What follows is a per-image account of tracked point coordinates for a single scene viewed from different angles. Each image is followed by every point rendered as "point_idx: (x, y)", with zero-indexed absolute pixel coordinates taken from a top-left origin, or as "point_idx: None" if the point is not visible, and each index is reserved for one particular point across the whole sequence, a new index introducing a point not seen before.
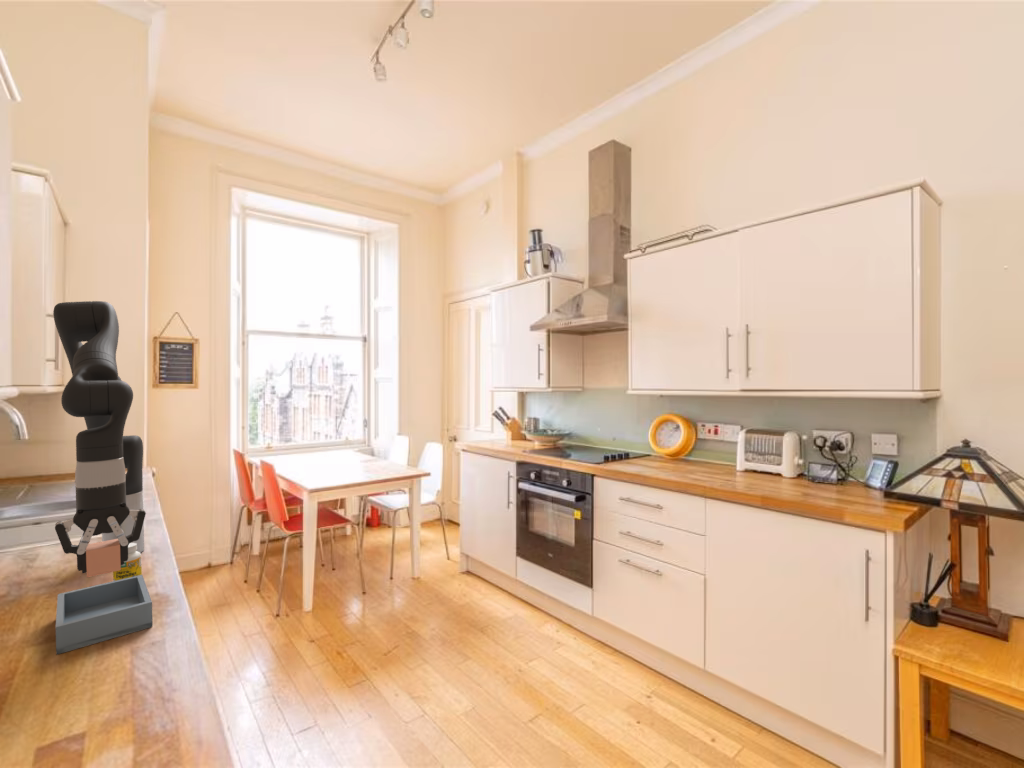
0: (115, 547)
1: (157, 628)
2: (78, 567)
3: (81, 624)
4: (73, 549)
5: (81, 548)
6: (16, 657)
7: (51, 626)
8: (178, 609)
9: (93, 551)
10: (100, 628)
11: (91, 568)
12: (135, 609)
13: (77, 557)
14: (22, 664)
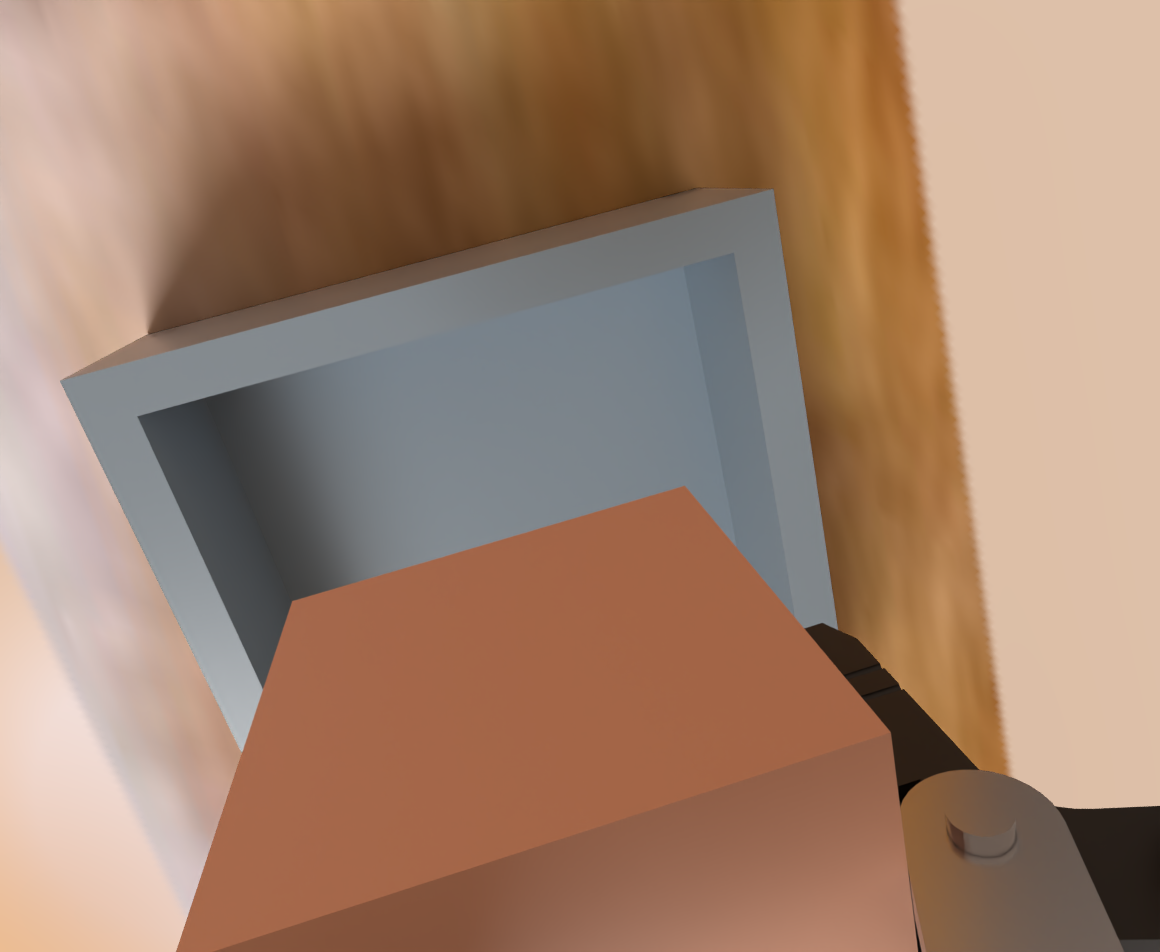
0: (288, 891)
1: (94, 284)
2: (850, 648)
3: (598, 233)
4: (1156, 877)
5: (1017, 881)
6: (904, 285)
7: None
8: (38, 574)
9: (733, 752)
10: (467, 258)
11: (664, 550)
12: (208, 337)
13: (958, 755)
14: (856, 152)
